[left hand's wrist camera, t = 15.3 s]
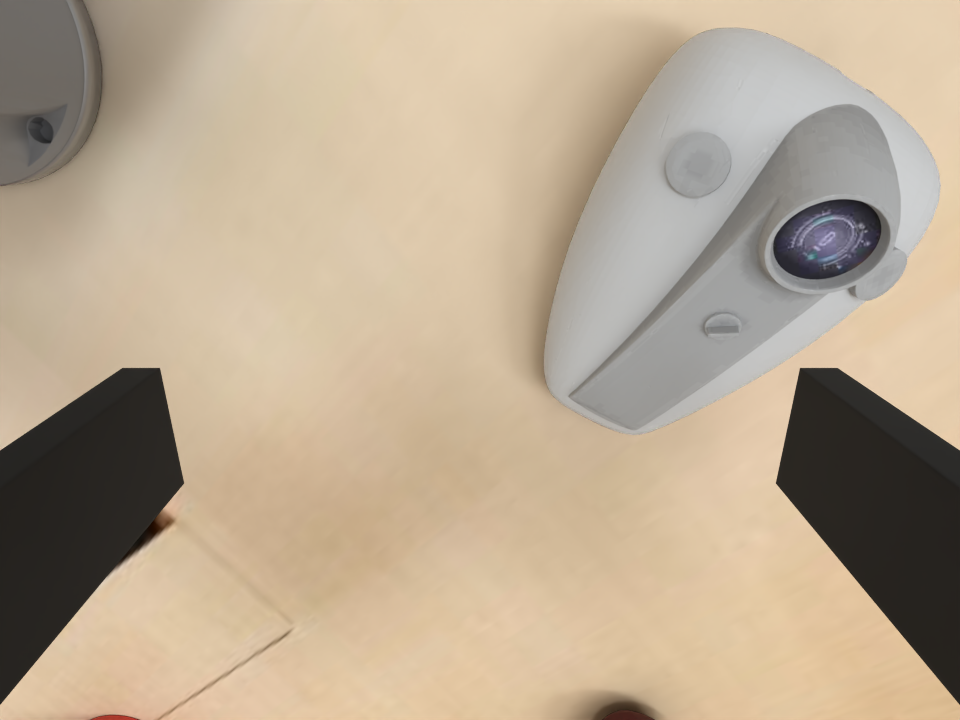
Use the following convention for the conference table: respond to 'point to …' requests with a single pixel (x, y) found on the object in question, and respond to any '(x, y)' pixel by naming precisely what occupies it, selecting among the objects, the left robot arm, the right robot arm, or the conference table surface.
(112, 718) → the canister
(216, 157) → the conference table surface
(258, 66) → the conference table surface
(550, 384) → the projector
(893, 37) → the conference table surface
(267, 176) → the conference table surface
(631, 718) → the dark maroon round ball
